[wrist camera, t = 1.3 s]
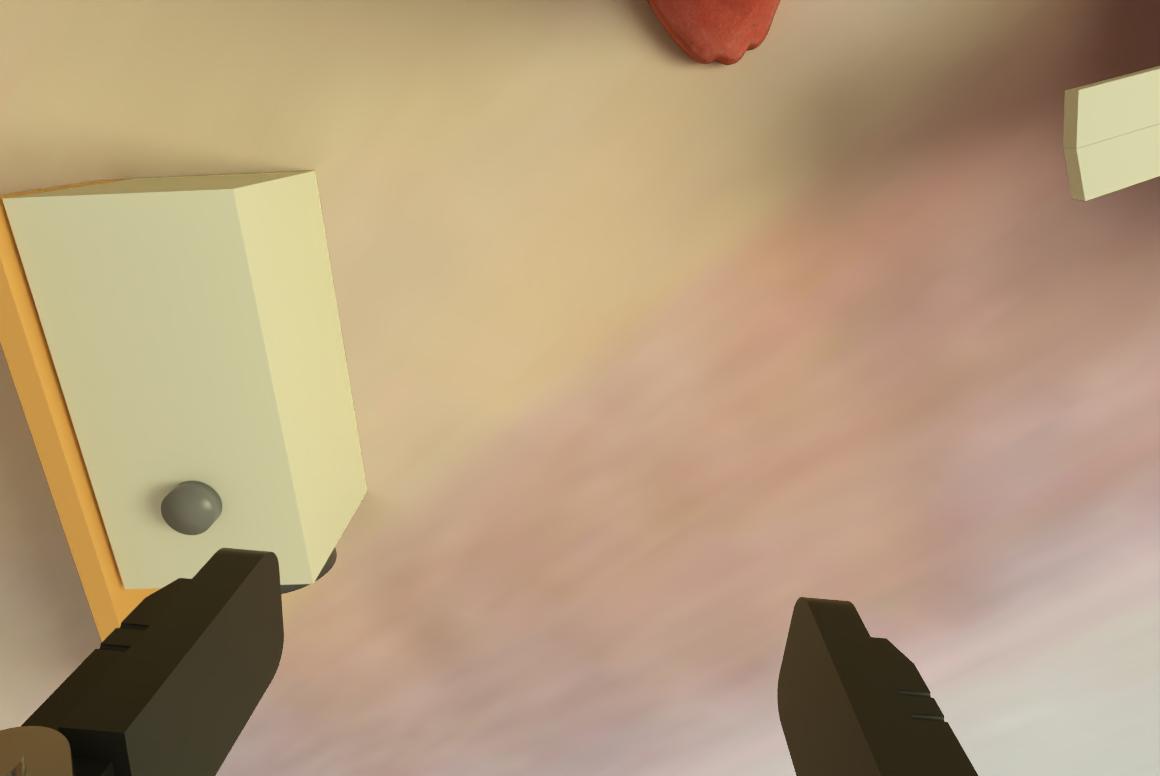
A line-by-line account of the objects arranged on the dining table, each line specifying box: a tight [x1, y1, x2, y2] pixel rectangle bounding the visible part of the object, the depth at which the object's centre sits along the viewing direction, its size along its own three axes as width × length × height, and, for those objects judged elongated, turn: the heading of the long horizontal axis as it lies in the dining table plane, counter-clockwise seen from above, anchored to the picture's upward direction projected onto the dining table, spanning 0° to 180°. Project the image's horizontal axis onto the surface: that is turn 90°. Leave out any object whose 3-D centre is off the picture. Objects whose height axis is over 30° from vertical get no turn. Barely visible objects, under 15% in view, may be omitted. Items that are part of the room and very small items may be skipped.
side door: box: [0, 179, 161, 642], centre depth 33 cm, size 26×2×8 cm, turn 2°
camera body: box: [2, 171, 367, 594], centre depth 31 cm, size 17×8×9 cm, turn 2°
